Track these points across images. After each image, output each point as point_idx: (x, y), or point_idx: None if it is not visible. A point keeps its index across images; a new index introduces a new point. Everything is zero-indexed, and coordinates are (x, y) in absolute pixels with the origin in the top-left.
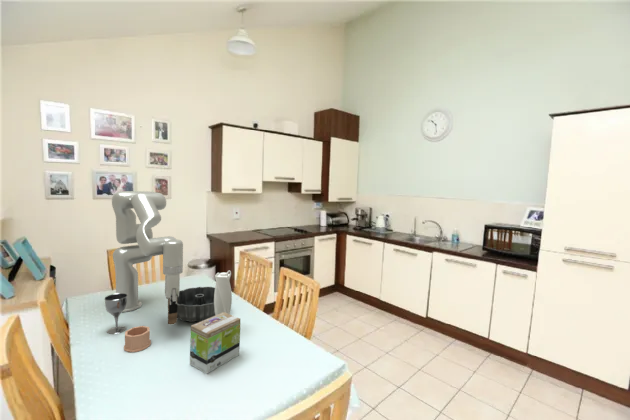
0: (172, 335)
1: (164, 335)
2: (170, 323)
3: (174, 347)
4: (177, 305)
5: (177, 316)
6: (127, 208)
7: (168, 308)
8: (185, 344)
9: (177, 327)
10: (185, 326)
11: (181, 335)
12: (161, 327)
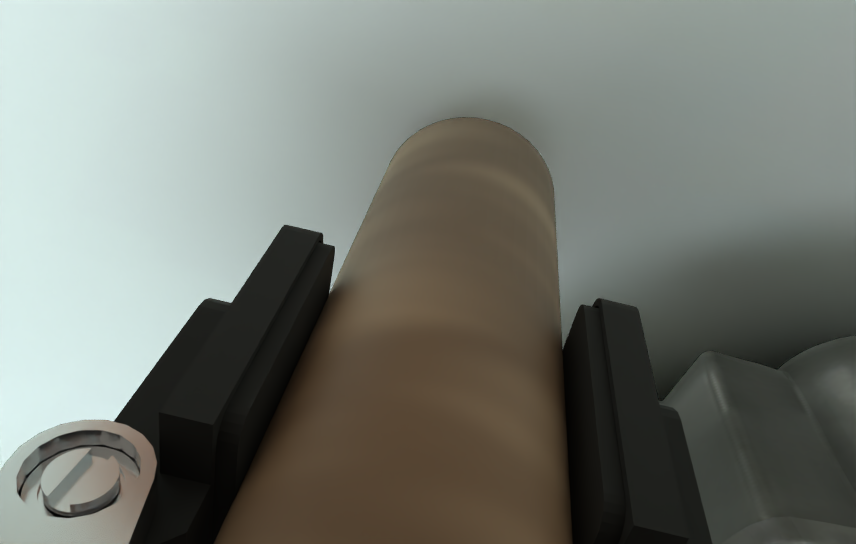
0: (415, 103)
1: (494, 3)
2: (398, 152)
3: (39, 14)
4: (790, 523)
5: (822, 351)
6: None
7: (383, 311)
8: (65, 157)
9: (622, 239)
10: (570, 324)
11: (339, 199)
12: (831, 47)
